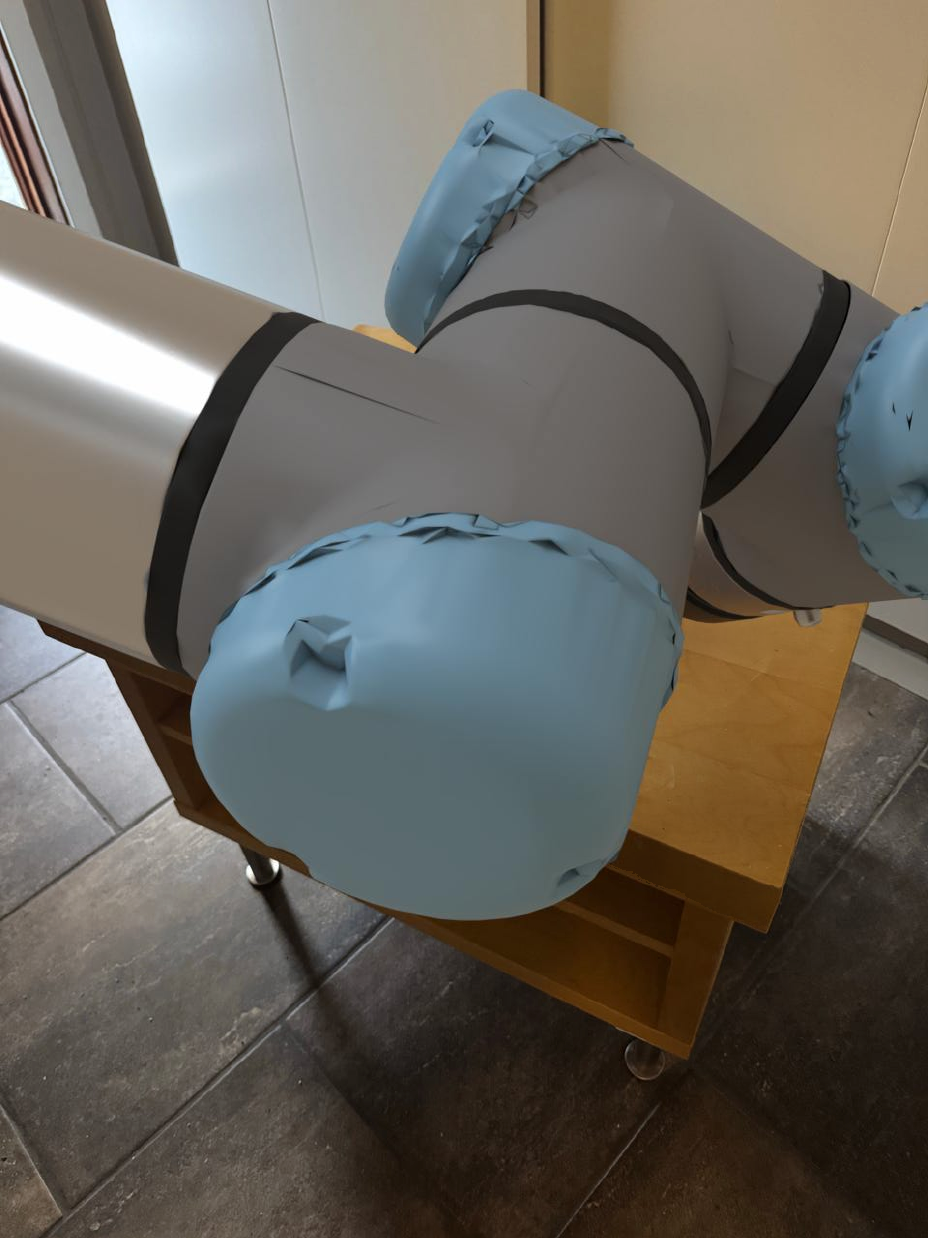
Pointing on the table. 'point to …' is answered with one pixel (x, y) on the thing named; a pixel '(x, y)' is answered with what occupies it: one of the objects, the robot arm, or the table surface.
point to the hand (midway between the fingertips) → (592, 579)
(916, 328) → the robot arm
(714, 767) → the table surface
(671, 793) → the table surface
